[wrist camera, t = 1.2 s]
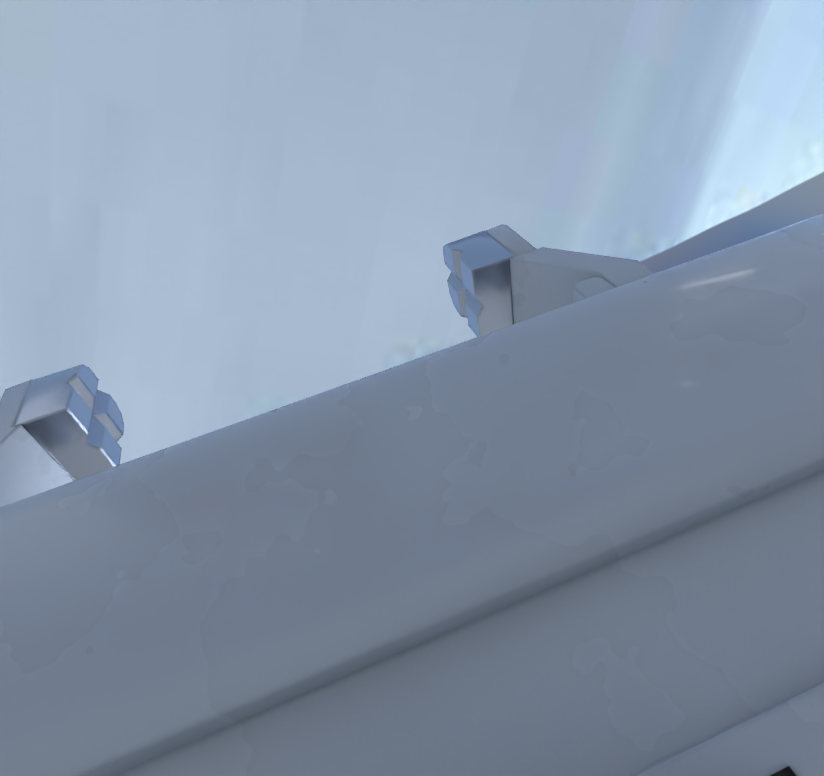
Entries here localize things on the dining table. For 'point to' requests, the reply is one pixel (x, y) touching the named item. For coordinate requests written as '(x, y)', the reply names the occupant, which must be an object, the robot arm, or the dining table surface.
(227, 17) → the dining table surface
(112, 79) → the dining table surface
